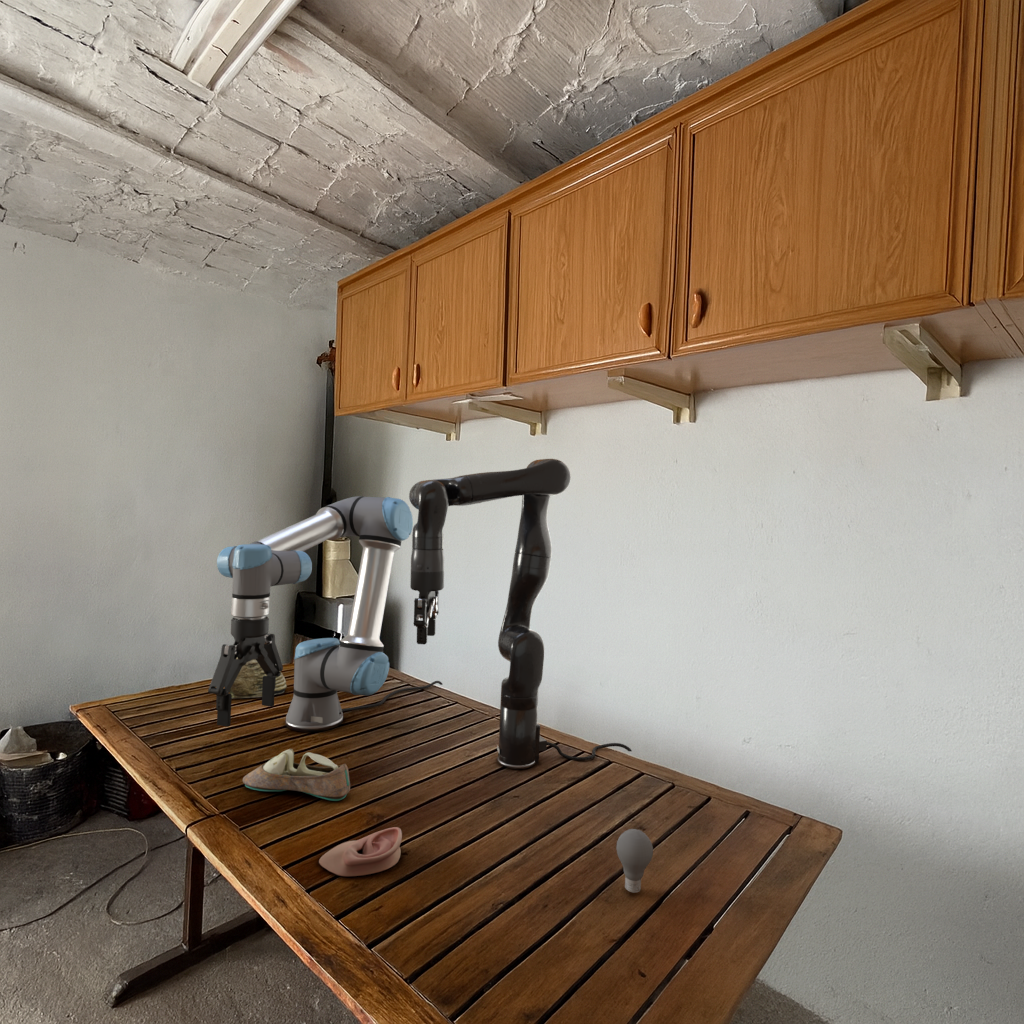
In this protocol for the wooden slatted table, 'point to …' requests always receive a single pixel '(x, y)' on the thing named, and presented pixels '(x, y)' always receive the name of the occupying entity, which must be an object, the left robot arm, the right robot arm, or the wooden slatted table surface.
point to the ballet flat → (301, 776)
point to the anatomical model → (365, 854)
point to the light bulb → (634, 857)
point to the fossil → (253, 681)
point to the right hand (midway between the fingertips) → (426, 639)
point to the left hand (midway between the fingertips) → (246, 715)
